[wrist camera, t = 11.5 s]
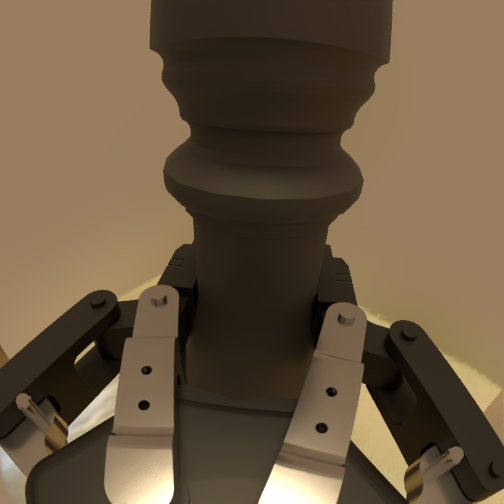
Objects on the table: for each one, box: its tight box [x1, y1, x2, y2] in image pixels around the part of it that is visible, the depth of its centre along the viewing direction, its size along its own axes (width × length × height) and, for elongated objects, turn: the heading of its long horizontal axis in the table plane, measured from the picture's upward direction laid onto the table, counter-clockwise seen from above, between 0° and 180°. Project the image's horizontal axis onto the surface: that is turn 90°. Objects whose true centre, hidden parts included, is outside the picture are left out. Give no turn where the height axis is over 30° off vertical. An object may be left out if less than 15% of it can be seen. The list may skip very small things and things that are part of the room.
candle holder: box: [150, 0, 392, 401], centre depth 12 cm, size 6×6×25 cm
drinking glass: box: [483, 389, 504, 445], centre depth 22 cm, size 7×7×15 cm
